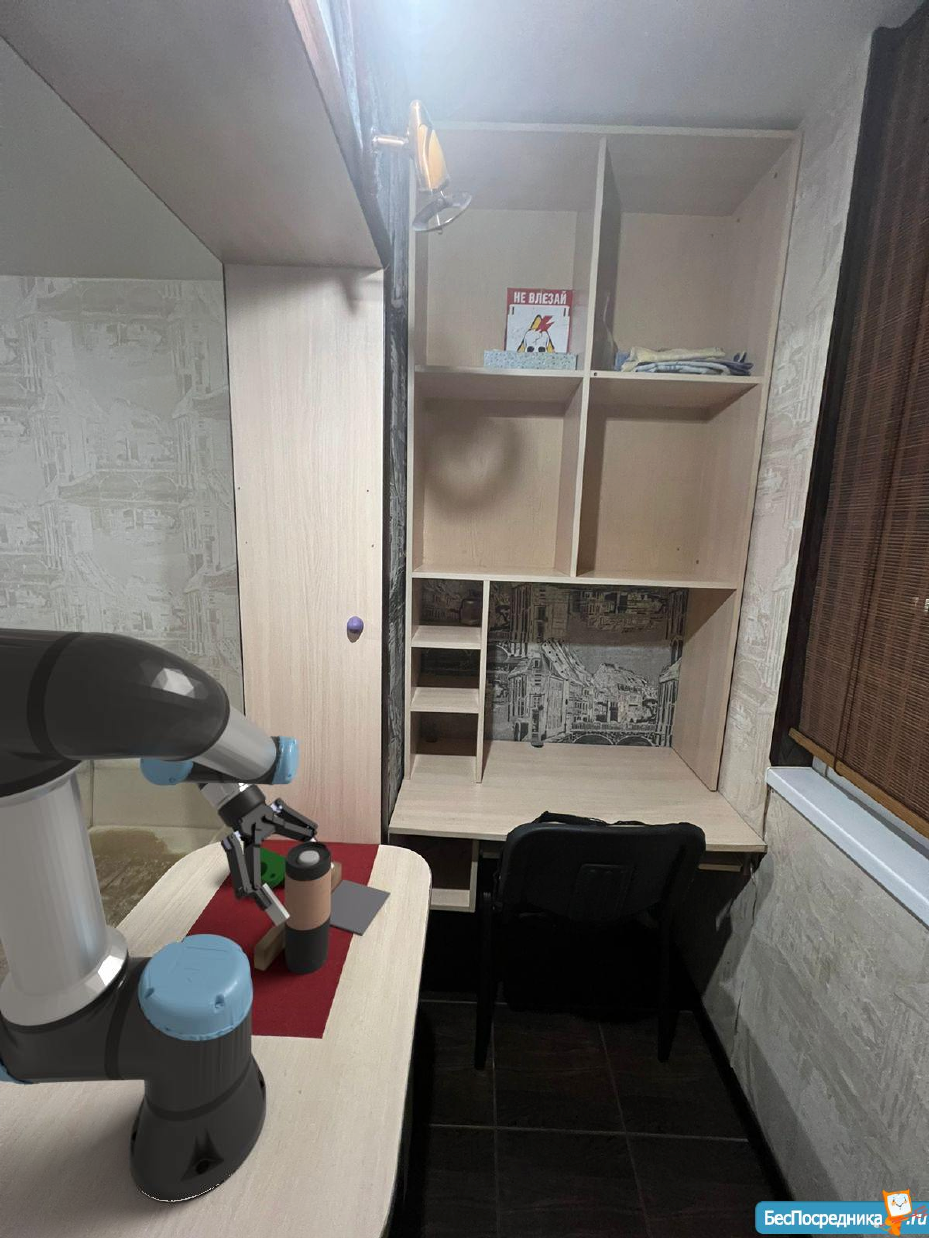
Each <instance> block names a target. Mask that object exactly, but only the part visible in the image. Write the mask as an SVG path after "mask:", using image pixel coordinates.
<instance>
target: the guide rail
mask: <svg viewBox="0 0 929 1238" xmlns="http://www.w3.org/2000/svg"><path fill="white" fill-rule="evenodd" d="M331 862H332V864H333V865H334V867H333V868H332V869H331V893H332V892H333V891H334V890H335V889H336V888H337V886H338V885H339V884H340V883H341V882H342V871H343V870H342V869H343V868H342V865H343V864H342V863H341V862H338V861H335V860H334V861H331ZM253 948H254V949H253V958H254V959H253V960H254V961H253V962H254V964H253V966H254V967H253V968H254V969H258V970H260V971H263V972H265V971H266V970H267V968H268V967H269V966H270V965H271V964H272V963H273V961H274V960H275V959H276V958H277V957H278V955H279V954H280V953H281V952H282V951H283V949H285V924H284V922H282V923H281V924H279V925H278V926H276V924H275V923H274V925H273V926H272V927H271V928H270V929H269V930H268V931H267V932H266V934H265V935H264V936H263V937H261V939H260V940H259V941H258V942H257V943H256V944H255V945H254V947H253Z"/></svg>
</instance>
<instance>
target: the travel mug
mask: <svg viewBox="0 0 929 1238" xmlns="http://www.w3.org/2000/svg"><path fill="white" fill-rule="evenodd" d="M286 852H287V853H286V854H285V857H286V859H285V885H284V908H285V910H286V911H287V912H288V914H289V915H290V916H289V917H288V919H286V920H285V921H284V924H285V947H284V952H285V953H284V954H285V956H284V957H285V964H286V967H287V968H288V970H289V971H291V973H294V974H297V975H307V974H312V973H314V972H316V971H318V970H319V969H320V968H322V967H323V966H324V964H325V963H326V962H327V959H328V956H329V945H330V944H329V943H330V941H329V940H330V930H331V929H330V928H331V925H330V913H331V893H332V892H331V862H332V851H330V849H329V848H328V846H327V844H326V843H324V842H320V841H318V842H315V841H310V842H304V843H303V842H300V843H298V844H296V845H294V846H292V847H291V848H289V850H288V851H286Z"/></svg>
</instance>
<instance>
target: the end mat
mask: <svg viewBox="0 0 929 1238" xmlns="http://www.w3.org/2000/svg"><path fill="white" fill-rule="evenodd" d="M389 895H391V892H389V891H385V890H382V889H379V888H375V887H372V886H368V885H365V884H362V883H359V882H353V881H350V880H347V879H341V881H340V883H339V884H338V885H337V886H336V887H335V888H334V890H333V891H332V892H331V913H330V927H331V926H332V927H335V928H337V927H338V929H341V930H343V931H347V932H350V933H353V934H356V935H358V936H359V935H360V936H363V935H364V934H365V932H366V931H367V929H368V928H369V926H370V925H371V923H372V922H373V921H374V919H375V918H376V916H377V915H378V913H379V911H380V910H381V908H383V906H384V904H385V903H386V901H387V900H388V898H389V897H390V896H389Z"/></svg>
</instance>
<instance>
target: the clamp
mask: <svg viewBox="0 0 929 1238" xmlns="http://www.w3.org/2000/svg"><path fill="white" fill-rule="evenodd" d="M243 855H244V859H245V854H244V853H243ZM285 859H286V856H284V855H281V854H279V853H278V852H277V853H276V852H274V851H273V850H269V849H268V848H265V847H263V846H261V847H260V869H261V886H263V885H264V884H265V883H266V884H267V885H268V886H269V888H270V889H271V891H273V890H274V888H275V887H276V886H277V885H279V884H280V885H281V884H282V885H284V886H285Z"/></svg>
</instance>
